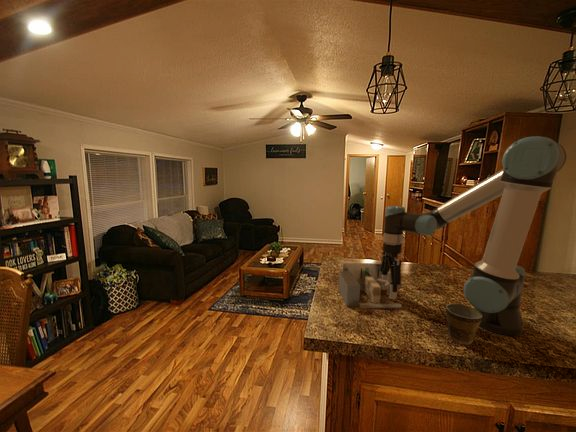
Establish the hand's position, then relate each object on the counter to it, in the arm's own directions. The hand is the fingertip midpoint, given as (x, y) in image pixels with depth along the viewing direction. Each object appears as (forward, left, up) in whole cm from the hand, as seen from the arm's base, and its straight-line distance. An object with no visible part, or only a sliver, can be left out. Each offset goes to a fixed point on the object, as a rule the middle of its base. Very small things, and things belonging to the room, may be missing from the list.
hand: (388, 293), depth 118 cm
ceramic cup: (-28, -12, -2) cm, 30 cm away
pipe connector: (0, 0, -1) cm, 1 cm away
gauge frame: (+1, +9, -2) cm, 9 cm away
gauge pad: (+2, +7, -2) cm, 8 cm away
